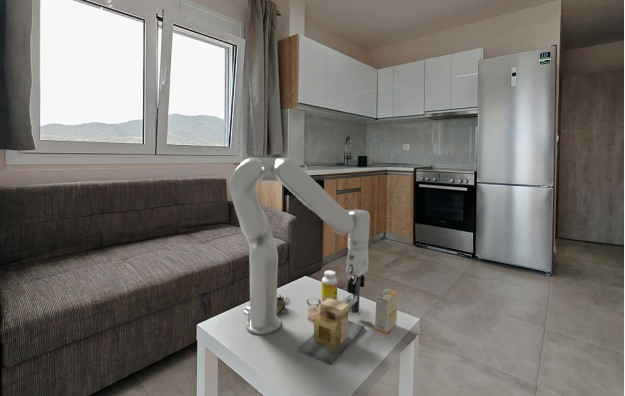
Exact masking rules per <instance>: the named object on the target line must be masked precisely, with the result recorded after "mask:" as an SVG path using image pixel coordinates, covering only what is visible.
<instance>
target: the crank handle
mask: <svg viewBox="0 0 625 396" xmlns="http://www.w3.org/2000/svg"><path fill="white" fill-rule="evenodd" d="M351 278H352V279H354V277H353V276H351ZM360 278H361V276H360V277H356V282H355V283H356V294H351V293H349V294H348V295H347V296H346V297H344V299H343V300H341V301H340V302H343V303H347V304H349V309H350V312H351V313H353V314H358V313H359V312H360V299H361V298H360V294H361V287H360ZM330 317H332V318H335V314H334V313H331V312H330Z"/></svg>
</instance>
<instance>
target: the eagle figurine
mask: <svg viewBox="0 0 625 396" xmlns="http://www.w3.org/2000/svg"><path fill="white" fill-rule="evenodd" d="M290 303H291V299H290V298H289V297H285V298H284V295H283V296H281V294H279V295H278V296H277V316H278V317H279V315H280V314H282V312H284V311H285V309H286V306H289V305H290Z"/></svg>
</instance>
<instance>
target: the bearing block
mask: <svg viewBox="0 0 625 396" xmlns="http://www.w3.org/2000/svg"><path fill="white" fill-rule="evenodd" d="M349 309H350V308H349V304H347V303H343V302H341V301H340V300H338V299H337V300H334V299H330V298H327V299H326V300H324V301H323V302H322V301H321V302H320V313H319V315H322V316H325V317H328V318H331V319H334V320H337V321H340V345H339V346H338V347H337V348H336V349H332V348H330V347H327V346H325V345H322V344H320V343H317V342H315V341H314V334H313V335H311V336H310V337H309V338H307V340H306V341H304V342H303V343H302V344H301V345H300V346H298V352H301V353H303V354H306V355H308V356H310V357H312V358H314V359H317V360H320V361H322V362H325V363H326V364H329V365H333V364H334V362H336V360H338V358H339V357H340V356H341V355H342V354H343V353H344V352H345V350H347V348H348V347H349V346H350V345H351V344H352V343H353V342H354V341H355V340H356V338H357V337H358V336H359V335H360V334H361V333H362V332H363V331H364V330H365V325H362V324H360V323H356V322H354V321H351V320H349ZM330 312H331V313H334V314H335V318H332V317H330ZM323 334H326V335H328V336H330V335H331V329H328V328H325V327H323Z"/></svg>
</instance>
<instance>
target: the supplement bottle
mask: <svg viewBox="0 0 625 396" xmlns="http://www.w3.org/2000/svg"><path fill="white" fill-rule="evenodd" d="M323 274H324V276H323V277H322V278H321V295H320V301H321V303H322V302H323V301H324V300H326V299H327V298H330V299H334V300H337V301H338V283H339V282H338V278H337V277H336V271H334V270H330V269H329V270H325V271H324V273H323Z"/></svg>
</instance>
